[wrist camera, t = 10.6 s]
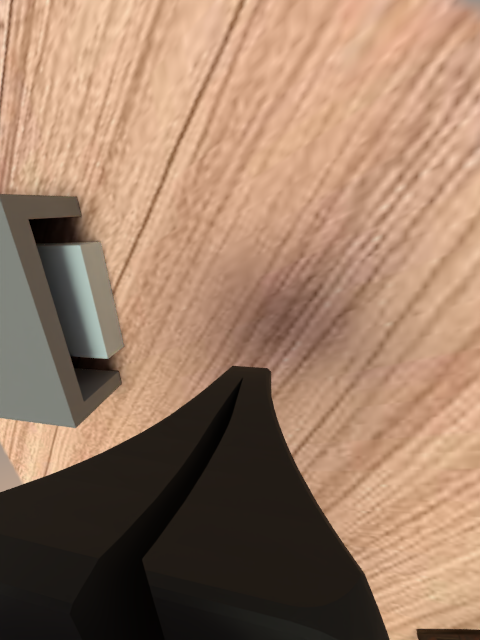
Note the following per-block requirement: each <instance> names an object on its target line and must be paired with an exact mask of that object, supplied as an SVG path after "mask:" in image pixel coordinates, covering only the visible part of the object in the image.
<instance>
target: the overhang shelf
mask: <svg viewBox="0 0 480 640" xmlns="http://www.w3.org/2000/svg"><path fill="white" fill-rule="evenodd" d="M78 216H81V213H80V209H79V204H78V200H77V197H68V196H40V195H11V194H0V418H5V419H12V420H20V421H27V422H35V423H42V424H50V425H57V426H65V427H72V428H76V427H77V426H78V425H79V424H80V423H82V422H83V421H84V420H85V419H86V418H87V417H88V416H89V415H90V414H91V413H92V412H93V411H94V410H95V409H96V408H97V407H98V406H99V405H100V404H101V403H102V402H103V401H104V400H105V399H106V398H107V397H108V396H109V395H111V394H112V393H113V392H114V391H115V390H116V389H117V388H118V387H119V386H120V385H121V380H120V375H119V371H106V370H94V369H81V368H74V367H73V364H72V361H71V358H70V354H69V351H68V348H67V345H66V341H65V338H64V335H63V331H62V328H61V325H60V322H59V318H58V315H57V312H56V308H55V305H54V302H53V299H52V295H51V292H50V289H49V285H48V282H47V279H46V276H45V272H44V269H43V266H42V262H41V259H40V256H39V253H38V249H37V246H36V243H35V240H34V236H33V233H32V230H31V226H30V223H29V220H28V219H43V218H61V217H78Z"/></svg>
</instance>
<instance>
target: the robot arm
mask: <svg viewBox="0 0 480 640" xmlns="http://www.w3.org/2000/svg"><path fill="white" fill-rule="evenodd" d="M0 640H389V636H388V634H387V631H386V628H385V625H384V623H383V620H382V617H381V614H380V612H379V609H378V606H377V604H376V601H375V599H374V596H373V594H372V591H371V589H370V586H369V584H368V581H367V579H366V576H365V574H364V572H363V571H362V570H361V568H360V567H359V565H358V564H357V562H356V561H355V560H354V558H353V557H352V555H351V554H350V553H349V551H348V550H347V548H346V547H345V545H344V544H343V542H342V541H341V539H340V538H339V536H338V535H337V533H336V532H335V530H334V529H333V528H332V526H331V524H330V523H329V521H328V520H327V518H326V516H325V515H324V513H323V512H322V510H321V508H320V507H319V505H318V504H317V502H316V500H315V498H314V497H313V495H312V493H311V491H310V489H309V488H308V486H307V484H306V482H305V480H304V479H303V477H302V475H301V473H300V471H299V470H298V468H297V465H296V463H295V461H294V459H293V457H292V455H291V453H290V451H289V448H288V446H287V444H286V441H285V439H284V436H283V434H282V431H281V428H280V426H279V423H278V420H277V417H276V413H275V410H274V406H273V401H272V397H271V371H270V370H269V369H268V368H255V367H240V366H232V367H231V368H230V369H228V370H227V371H226V372H225V373H224V374H223V375H221V376H220V377H219V378H218V379H217V380H216V381H214V382H213V383H212V384H211V385H210V386H208V387H207V388H206V389H205V390H203V391H202V392H201V393H200V394H199V395H197V396H196V397H195V398H193V399H192V400H191V401H189V402H188V403H186V404H185V405H184V406H182V407H181V408H180V409H178V410H177V411H176V412H174V413H173V414H171V415H170V416H168V417H167V418H165V419H164V420H162V421H160V422H159V423H157V424H155V425H154V426H152V427H150V428H149V429H147V430H145V431H144V432H142V433H140V434H138V435H136V436H134V437H132V438H130V439H129V440H127V441H125V442H123V443H121V444H119V445H117V446H115V447H113V448H111V449H109V450H107V451H105V452H103V453H101V454H98V455H96V456H94V457H92V458H89V459H87V460H85V461H83V462H80V463H78V464H76V465H73V466H71V467H68V468H66V469H63V470H61V471H58V472H56V473H53V474H51V475H48V476H45V477H43V478H40V479H37V480H34V481H31V482H28V483H26V484H23V485H20V486H18V487H15V488H12V489H9V490H6V491H3V492H0Z"/></svg>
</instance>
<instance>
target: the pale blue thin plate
mask: <svg viewBox="0 0 480 640" xmlns="http://www.w3.org/2000/svg"><path fill="white" fill-rule="evenodd" d="M36 246H37V249H38V253H39V256H40V259H41V262H42V266H43V269H44V272H45V276H46V279H47V282H48V285H49V289H50V292H51V295H52V299H53V302H54V305H55V308H56V312H57V315H58V318H59V322H60V325H61V328H62V331H63V335H64V338H65V341H66V345H67V348H68V351H69V354H70V356H74V357H88V358H103V359H109V358H110V357H111V356H112V355H114V354H115V353H116V352H118V351H119V350H120V349H122V348H123V347H124V343H123V339H122V334H121V330H120V325H119V321H118V316H117V312H116V307H115V303H114V298H113V294H112V289H111V285H110V280H109V276H108V271H107V267H106V262H105V258H104V253H103V249H102V244H101V242H72V243H41V244H36Z"/></svg>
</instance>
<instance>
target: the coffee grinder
mask: <svg viewBox="0 0 480 640" xmlns="http://www.w3.org/2000/svg"><path fill="white" fill-rule="evenodd" d="M417 636H418V639H419V640H480V630H468V629H455V630H417Z"/></svg>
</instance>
